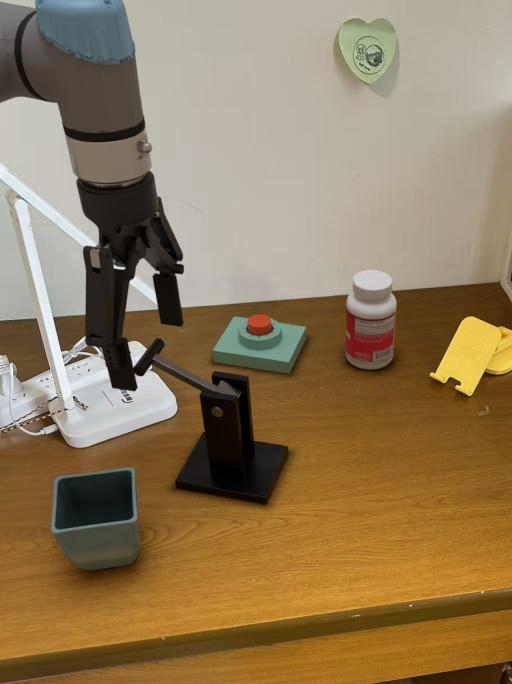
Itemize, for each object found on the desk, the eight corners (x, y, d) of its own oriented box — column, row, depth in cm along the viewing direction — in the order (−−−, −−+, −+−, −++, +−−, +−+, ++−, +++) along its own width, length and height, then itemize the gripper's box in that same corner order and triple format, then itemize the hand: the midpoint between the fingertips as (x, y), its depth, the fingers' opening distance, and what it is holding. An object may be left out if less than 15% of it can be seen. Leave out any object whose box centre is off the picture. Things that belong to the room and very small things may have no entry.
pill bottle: (353, 340, 123) (355, 263, 114) (398, 349, 122) (404, 271, 113) (338, 366, 118) (339, 287, 109) (385, 375, 117) (390, 296, 107)
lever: (130, 375, 89) (135, 361, 87) (151, 347, 93) (156, 333, 92) (224, 424, 91) (231, 411, 90) (240, 394, 95) (247, 381, 94)
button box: (213, 362, 118) (211, 340, 115) (235, 327, 125) (233, 306, 122) (289, 374, 116) (288, 351, 114) (306, 338, 123) (306, 316, 121)
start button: (244, 335, 117) (244, 325, 116) (252, 322, 120) (251, 312, 118) (267, 338, 117) (267, 328, 115) (274, 325, 119) (274, 316, 118)
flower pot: (147, 519, 94) (134, 465, 88) (150, 574, 88) (137, 520, 81) (72, 530, 92) (53, 476, 86) (70, 587, 86) (50, 533, 80)
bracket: (176, 488, 98) (159, 402, 88) (204, 438, 105) (191, 354, 95) (266, 504, 96) (259, 419, 87) (288, 453, 103) (285, 368, 94)
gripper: (91, 233, 66) (135, 424, 81) (196, 133, 84) (216, 304, 99) (11, 223, 67) (69, 413, 82) (132, 126, 85) (161, 297, 100)
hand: (149, 354), depth 90 cm, fingers open, 13 cm apart
